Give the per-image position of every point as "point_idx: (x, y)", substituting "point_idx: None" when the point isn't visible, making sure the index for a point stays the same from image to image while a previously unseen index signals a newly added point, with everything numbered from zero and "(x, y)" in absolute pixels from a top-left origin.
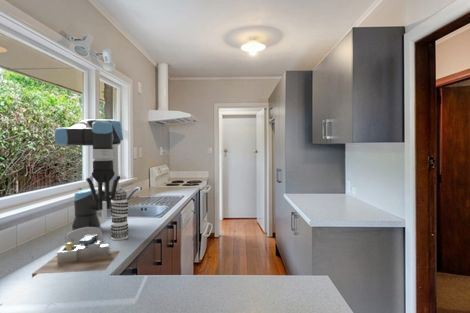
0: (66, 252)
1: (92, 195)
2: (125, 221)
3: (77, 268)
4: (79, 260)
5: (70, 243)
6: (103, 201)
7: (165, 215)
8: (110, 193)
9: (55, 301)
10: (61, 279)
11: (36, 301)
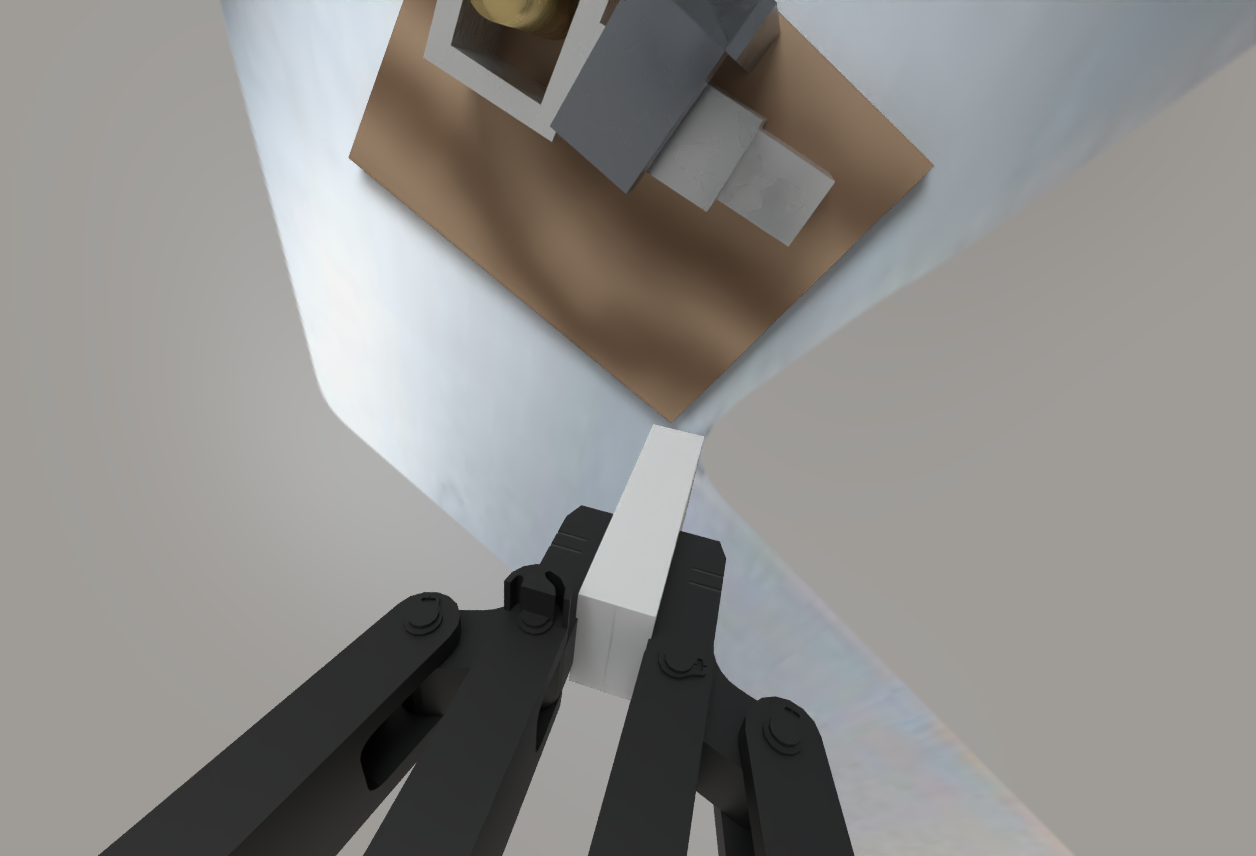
0: (489, 99)
1: (315, 701)
2: None
3: (562, 284)
4: None
5: (502, 6)
6: (603, 643)
7: None
8: (762, 839)
9: (461, 486)
10: (489, 317)
11: (407, 438)
